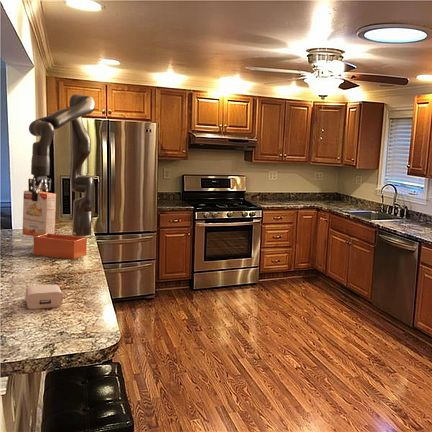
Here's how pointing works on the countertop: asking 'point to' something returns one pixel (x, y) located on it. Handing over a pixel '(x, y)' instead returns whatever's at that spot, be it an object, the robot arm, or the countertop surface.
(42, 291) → the charger
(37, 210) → the cracker box
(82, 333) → the countertop surface
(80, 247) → the holder
